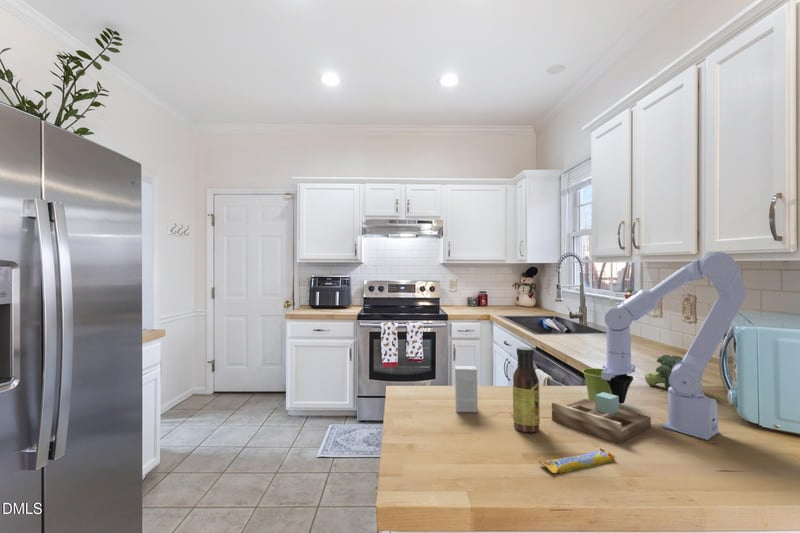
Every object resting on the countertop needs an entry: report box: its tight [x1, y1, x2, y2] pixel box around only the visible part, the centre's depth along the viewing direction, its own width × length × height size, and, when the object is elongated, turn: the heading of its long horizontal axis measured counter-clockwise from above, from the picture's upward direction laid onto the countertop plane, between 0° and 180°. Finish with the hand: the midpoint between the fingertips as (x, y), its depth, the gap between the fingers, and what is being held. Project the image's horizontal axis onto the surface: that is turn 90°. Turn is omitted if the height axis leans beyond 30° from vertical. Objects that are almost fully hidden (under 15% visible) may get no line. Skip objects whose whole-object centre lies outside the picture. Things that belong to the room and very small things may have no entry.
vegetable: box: [644, 354, 684, 390], centre depth 126 cm, size 12×13×15 cm
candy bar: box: [538, 448, 616, 474], centre depth 78 cm, size 17×4×2 cm, turn 109°
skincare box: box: [454, 365, 479, 413], centre depth 109 cm, size 6×4×12 cm
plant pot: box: [582, 367, 612, 401], centre depth 116 cm, size 9×9×9 cm
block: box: [595, 392, 620, 415], centre depth 101 cm, size 4×4×4 cm
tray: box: [551, 398, 652, 445], centre depth 99 cm, size 17×16×4 cm
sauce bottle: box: [512, 346, 541, 433], centre depth 96 cm, size 6×6×20 cm
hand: (619, 402), depth 104 cm, fingers closed
